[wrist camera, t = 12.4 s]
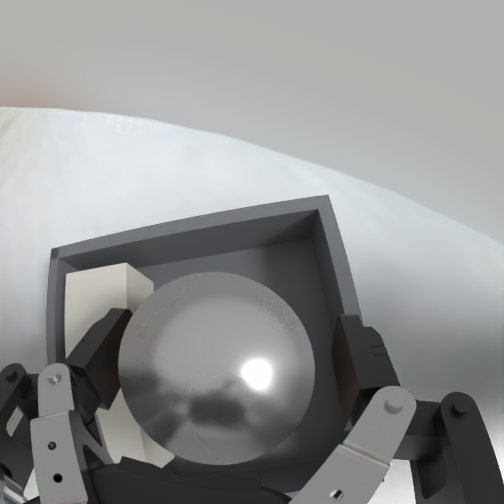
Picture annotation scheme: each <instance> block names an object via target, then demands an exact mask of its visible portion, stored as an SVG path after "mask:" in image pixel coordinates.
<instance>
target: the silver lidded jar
mask: <svg viewBox="0 0 504 504" xmlns="http://www.w3.org/2000/svg"><path fill="white" fill-rule="evenodd" d="M118 370H119V380H120V386H121V390H122V393H123V396H124V400H125V402H126V404H127V406H128V409H129V411H130V412H131V414H132V416H133V417H134V419H135V421H136V422H137V423H138V425H139V426H140V427H141V428H142V430H143V431H144V432H145V433H146V434H147V435H148V436H149V437H150V438H151V439H152V440H153V441H155V442H156V443H157V444H159V445H160V446H161V447H163V448H164V449H166V450H168V451H169V452H171V453H173V454H175V455H177V456H179V457H182V458H184V459H187V460H190V461H194V462H197V463H203V464H210V465H229V464H238V463H242V462H246V461H249V460H252V459H255V458H257V457H260V456H262V455H264V454H266V453H268V452H269V451H271V450H273V449H274V448H276V447H277V446H278V445H280V444H281V443H282V442H283V441H285V440H286V439H287V438H288V436H289V435H290V434H291V433H292V432H293V431H294V430H295V429H296V427H297V426H298V424H299V423H300V422H301V420H302V418H303V416H304V414H305V412H306V410H307V408H308V406H309V403H310V400H311V397H312V393H313V387H314V380H315V364H314V355H313V351H312V347H311V343H310V340H309V338H308V335H307V333H306V330H305V328H304V326H303V325H302V323H301V321H300V319H299V318H298V316H297V315H296V314H295V312H294V311H293V310H292V308H291V307H290V306H289V305H288V304H287V303H286V302H285V301H284V300H283V299H282V298H281V297H280V296H278V295H277V294H276V293H274V292H273V291H272V290H271V289H269V288H267V287H266V286H264V285H262V284H260V283H259V282H256V281H254V280H252V279H249V278H247V277H243V276H240V275H236V274H231V273H225V272H202V273H195V274H191V275H186V276H183V277H181V278H178V279H175V280H173V281H171V282H169V283H167V284H165V285H163V286H162V287H160V288H159V289H157V290H156V291H155V292H153V293H152V294H151V295H150V296H149V297H148V298H147V299H145V300H144V302H143V303H142V304H141V305H140V306H139V307H138V309H137V310H136V311H135V313H134V314H133V316H132V317H131V319H130V321H129V323H128V325H127V327H126V329H125V332H124V335H123V338H122V341H121V346H120V350H119V360H118Z"/></svg>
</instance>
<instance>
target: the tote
mask: <svg viewBox="0 0 504 504" xmlns="http://www.w3.org/2000/svg"><path fill="white" fill-rule="evenodd" d="M121 263H128V264H129V265H130V266H132V267H133V268H134V269H136V270H137V271H138V272H140V273H141V274H143V275H144V276H145V277H147V278H148V279H150V280H151V281H152V282H153V284H154V292H155V291H156V290H157V289H159V288H160V287H162V286H163V285H165V284H167V283H169V282H171V281H173V280H175V279H178V278H181V277H183V276H186V275H191V274H195V273H202V272H225V273H231V274H236V275H240V276H243V277H247V278H249V279H252V280H254V281H256V282H259V283H260V284H262V285H264V286H266V287H267V288H269V289H271V290H272V291H273V292H274V293H276V294H277V295H278V296H280V297H281V298H282V299H283V300H284V301H285V302H286V303H287V304H288V305H289V306H290V307H291V308H292V310H293V311H294V312H295V314H296V315H297V316H298V318H299V319H300V321H301V323H302V325H303V326H304V328H305V330H306V333H307V335H308V338H309V340H310V343H311V347H312V351H313V355H314V364H315V380H314V387H313V393H312V397H311V400H310V403H309V406H308V408H307V410H306V412H305V414H304V416H303V418H302V420H301V422H300V423H299V424H298V426H297V427H296V429H295V430H294V431H293V432H292V433H291V434H290V435H289V436H288V438H287V439H286V440H285V441H283V442H282V443H281V444H280V445H278V446H277V447H276V448H274V449H273V450H271V451H269V452H268V453H266V454H264V455H262V456H260V457H257V458H255V459H252V460H249V461H246V462H242V463H238V464H229V465H210V464H203V463H197V462H194V461H190V460H187V459H184V458H182V457H179V456H177V455H175V454H174V456H175V458H173V459H172V460H171V461H170V462H169V463H167V464H166V465H165V466H164V467H163V468H162V469H164V470H166V471H168V472H171V473H173V474H175V475H177V476H180V477H182V478H204V477H215V476H232V477H246V478H261V486H265V487H269V488H272V489H275V490H277V491H280V492H282V493H284V494H286V495H287V496H289V497H291V498H292V499H293V498H294V497H295V496H296V495H297V494H298V493H299V492H300V491H301V489H302V488H303V487H304V486H305V485H306V484H307V483H308V482H309V480H310V479H311V478H312V477H313V476H314V475H315V473H316V472H317V471H318V470H319V469H320V467H321V466H322V465H323V464H324V463H325V461H326V460H327V459H328V457H329V456H330V455H331V454H332V452H333V451H334V450H335V449H336V447H337V446H338V445H339V444H340V443H343V442H344V440H345V439H346V438H347V436H348V435H349V433H350V432H351V430H348V431H344V427H343V421H342V414H341V408H340V402H339V396H338V390H337V385H336V379H335V373H334V368H333V363H332V344H333V338H334V332H335V326H336V319H337V316H338V315H339V314H358V315H359V317H360V320H361V322H362V317H361V313H360V308H359V304H358V300H357V295H356V291H355V287H354V283H353V279H352V275H351V271H350V267H349V263H348V260H347V256H346V252H345V249H344V245H343V241H342V238H341V234H340V231H339V228H338V224H337V221H336V218H335V214H334V211H333V208H332V205H331V202H330V198H329V195H322V196H315V197H308V198H301V199H295V200H288V201H282V202H275V203H269V204H263V205H257V206H251V207H245V208H239V209H234V210H228V211H222V212H217V213H212V214H206V215H201V216H196V217H191V218H185V219H180V220H175V221H170V222H166V223H161V224H156V225H151V226H147V227H142V228H137V229H133V230H128V231H124V232H119V233H115V234H111V235H106V236H102V237H98V238H94V239H89V240H85V241H81V242H77V243H73V244H69V245H65V246H61V247H58V248H54V249H51V258H50V267H49V278H48V292H47V360H48V366H49V365H51V364H55V363H61V364H63V362H64V361H65V360H66V351H65V286H66V274H68V273H73V272H78V271H84V270H89V269H94V268H100V267H105V266H110V265H116V264H121ZM362 325H363V322H362ZM383 481H384V478H383V480H382V482H383Z"/></svg>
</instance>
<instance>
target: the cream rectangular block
mask: <svg viewBox="0 0 504 504" xmlns="http://www.w3.org/2000/svg"><path fill="white" fill-rule="evenodd" d="M153 292H154V284H153V282H152V281H151V280H150V279H148V278H147V277H145V276H144V275H143V274H141V273H140V272H138V271H137V270H136V269H134V268H133V267H132V266H130V265H129V264H128V263H121V264H116V265H110V266H105V267H100V268H94V269H89V270H84V271H78V272H73V273H68V274H66V286H65V351H66V358H67V357H68V356H69V354H70V353H71V352H72V350H73V349H74V348H75V346H76V345H77V344H78V342H79V341H81V339H82V337H83V336H84V335H86V332H87V331H88V330H89V328H90V327H91V326H92V325H93V324H94V323H96V322H97V321H98V320H100V319H101V318H104V316H105V315H106V314H107V313H108V311H109V310H110V309H111V308H124V309H130V310H131V312H132V314H134V313H135V311H136V310H137V309H138V307H139V306H140V305H141V304H142V303H143V302H144V300H145V299H147V298H148V297H149V296H150V295H151V294H152V293H153ZM96 414H97V415H98V418H99V422H100V426H101V429H102V433H103V436H104V440H105V443H106V446H107V449H108V452H109V454H110V456H111V458H112V460H113V461H114V463H120V460H121V457H122V456H125V457H128V458H132V459H136V460H139V461H143V462H147V463H151V464H154V465H156V466H158V467H160V468H163V467H164V466H165V465H166V464H167V463H169V462H170V461H171V460H172V459H173V458H175V456H174V454H173V453H171V452H169V451H168V450H166V449H164V448H163V447H161V446H160V445H159V444H157V443H156V442H155V441H153V440H152V439H151V438H150V437H149V436H148V435H147V434H146V433H145V432H144V431H143V430H142V428H141V427H140V426H139V425H138V423H137V422H136V421H135V419H134V417H133V416H132V414H131V412H130V411H129V409H128V406H127V404H126V402H125V400H124V396H123V393H122V390H121V388H120V390H119V392H118V394H117V396H116V398H115V399H114V401H113V403H112V405H111V407H110V409H109V410H105V409H101V408H98V409H97V411H96Z"/></svg>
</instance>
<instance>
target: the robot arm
mask: <svg viewBox="0 0 504 504" xmlns="http://www.w3.org/2000/svg"><path fill="white" fill-rule="evenodd" d="M132 316H133V314H132V312H131V310H130V309H124V308H111V309H110V310H109V311H108V313H107V314H106V315H105V316H104V318H101V319H100V320H98V321H97V322H96V323H94V324H93V325H92V326H91V327H90V328H89V330H88V331H87V332H86V335H84V336H83V337H82V339H81V341H79V342H78V344H77V345H76V346H75V348H74V349H73V350H72V352H71V353H70V354H69V356H68V357H67V358H66V360H65V361H64V362H63V364H61V363H55V364H51V365H49V366H47V367H45V368H44V369H43V370H42V371H41V373H40V374H27V372H26V370H25V369H24V367H23V366H22V365H21V364H18V363H14V364H10V365H8V366H7V367H5V368H4V369H3V370H2V371H1V373H0V504H367V503H368V502H369V500H370V499H371V497H372V496H373V494H374V493H375V491H376V490H377V488H378V486H379V485H380V483H381V482H382V480H383V478H384V477H385V475H386V473H387V471H388V469H389V467H390V462H391V460H392V459H401V460H410V466H411V472H412V478H413V485H414V492H415V499H416V504H504V483H503V480H502V476H501V472H500V469H499V465H498V462H497V459H496V456H495V453H494V450H493V447H492V444H491V441H490V438H489V435H488V433H487V430H486V427H485V425H484V422H483V419H482V417H481V414H480V412H479V410H478V407H477V405H476V403H475V401H474V400H473V399H472V398H471V397H470V396H469V395H467V394H465V393H461V392H453V393H450V394H448V395H446V396H445V397H444V398H443V400H442V402H441V403H438V402H426V401H419V400H416V399H415V398H414V396H413V395H412V393H410V392H409V391H408V390H406V389H404V388H402V387H401V386H400V384H399V381H398V379H397V376H396V373H395V371H394V368H393V365H392V363H391V360H390V358H389V355H388V353H387V350H386V348H385V347H384V343H383V341H382V338H381V336H380V334H379V333H378V332H377V331H376V330H374V329H373V328H372V327H363V325H362V322H361V320H360V317H359V315H358V314H339V315H338V316H337V319H336V326H335V332H334V338H333V344H332V363H333V368H334V373H335V379H336V385H337V390H338V396H339V402H340V408H341V414H342V421H343V427H344V431H348V430H351V432H350V433H349V435H348V436H347V438H346V439H345V440H344V442H343V443H340V444H339V445H338V446H337V447H336V449H335V450H334V451H333V452H332V454H331V455H330V456H329V457H328V459H327V460H326V461H325V463H324V464H323V465H322V466H321V467H320V469H319V470H318V471H317V472H316V473H315V475H314V476H313V477H312V478H311V479H310V480H309V482H308V483H307V484H306V485H305V486H304V487H303V488H302V489H301V491H300V492H299V493H298V494H297V495H296V496H295V497H294V498H293V499H292V498H291V497H289V496H287V495H286V494H284V493H282V492H280V491H277V490H275V489H272V488H269V487H265V486H261V478H246V477H232V476H215V477H204V478H182V477H180V476H177V475H175V474H173V473H171V472H168V471H166V470H164V469H162V468H160V467H158V466H156V465H154V464H151V463H147V462H143V461H139V460H136V459H132V458H128V457H125V456H122V457H121V460H120V463H114V461H113V460H112V458H111V456H110V454H109V452H108V449H107V446H106V443H105V440H104V436H103V433H102V429H101V426H100V422H99V418H98V415H97V414H96V411H97V409H98V408H101V409H105V410H109V409H110V407H111V405H112V403H113V401H114V399H115V398H116V396H117V394H118V392H119V390H120V388H121V386H120V380H119V370H118V360H119V350H120V346H121V341H122V338H123V335H124V332H125V329H126V327H127V325H128V323H129V321H130V319H131V317H132ZM16 407H18V409H19V410H20V411H21V412H22V413H23V417H22V419H21V420H20V422H19V424H18V426H17V428H16V429H15V431H14V433H13V435H12V437H10V436H9V434H8V433H7V430H6V425H7V422H8V420H9V419H10V417H11V415H12V413H13V412H14V410H15V408H16ZM33 468H35V475H36V481H37V486H38V491H39V496H38V497H35V498H33V499H31V500H29V501H28V500H27V498H26V497H24V495H23V492H24V489H25V487H26V484H27V482H28V480H29V477H30V475H31V472H32V470H33Z"/></svg>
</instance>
